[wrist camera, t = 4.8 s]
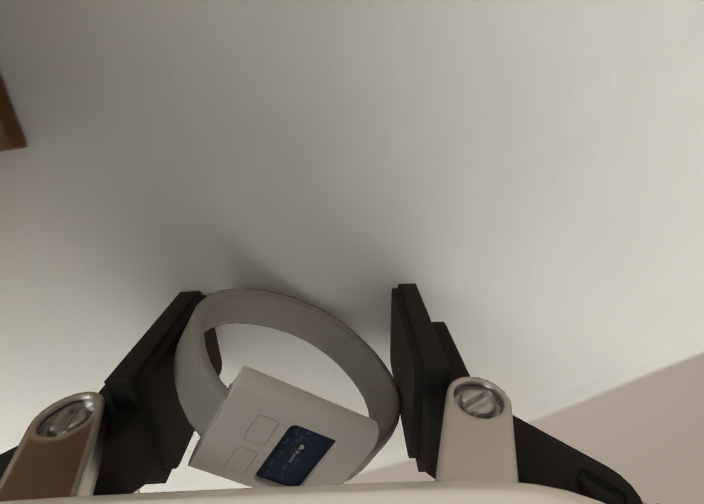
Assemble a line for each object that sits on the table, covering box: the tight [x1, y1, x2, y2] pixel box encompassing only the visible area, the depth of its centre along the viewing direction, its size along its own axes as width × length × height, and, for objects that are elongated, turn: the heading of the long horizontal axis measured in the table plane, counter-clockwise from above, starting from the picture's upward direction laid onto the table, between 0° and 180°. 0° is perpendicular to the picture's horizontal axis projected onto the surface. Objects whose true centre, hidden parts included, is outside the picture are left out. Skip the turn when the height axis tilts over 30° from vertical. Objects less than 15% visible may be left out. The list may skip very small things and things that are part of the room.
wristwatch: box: [174, 288, 401, 488], centre depth 10 cm, size 6×3×5 cm, turn 59°
